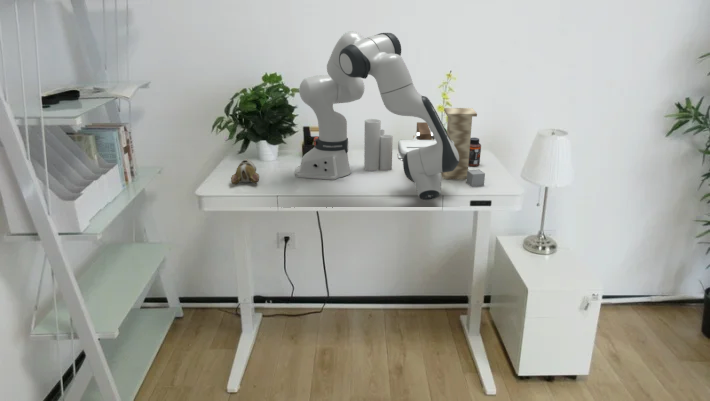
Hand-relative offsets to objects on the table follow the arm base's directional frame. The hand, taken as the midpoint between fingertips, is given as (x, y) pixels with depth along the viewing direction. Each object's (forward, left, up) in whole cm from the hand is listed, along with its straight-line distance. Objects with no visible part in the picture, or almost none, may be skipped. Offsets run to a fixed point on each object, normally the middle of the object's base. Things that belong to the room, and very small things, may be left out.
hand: (424, 133), depth 204 cm
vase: (-17, +18, -20) cm, 32 cm away
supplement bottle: (+23, +24, -20) cm, 39 cm away
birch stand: (+14, +10, -20) cm, 26 cm away
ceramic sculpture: (-68, 0, -20) cm, 71 cm away
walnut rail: (0, +6, -3) cm, 7 cm away
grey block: (+20, 0, -20) cm, 28 cm away
